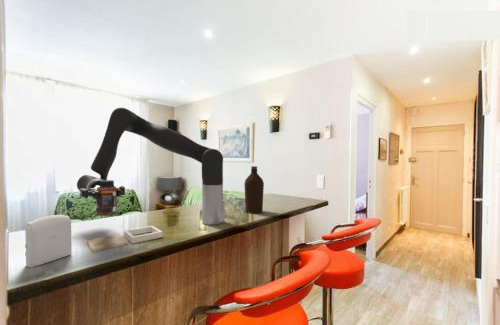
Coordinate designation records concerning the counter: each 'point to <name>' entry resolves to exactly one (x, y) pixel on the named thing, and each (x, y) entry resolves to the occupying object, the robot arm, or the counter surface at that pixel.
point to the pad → (106, 242)
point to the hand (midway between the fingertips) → (108, 194)
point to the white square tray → (133, 239)
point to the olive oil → (254, 192)
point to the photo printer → (47, 239)
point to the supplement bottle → (106, 198)
